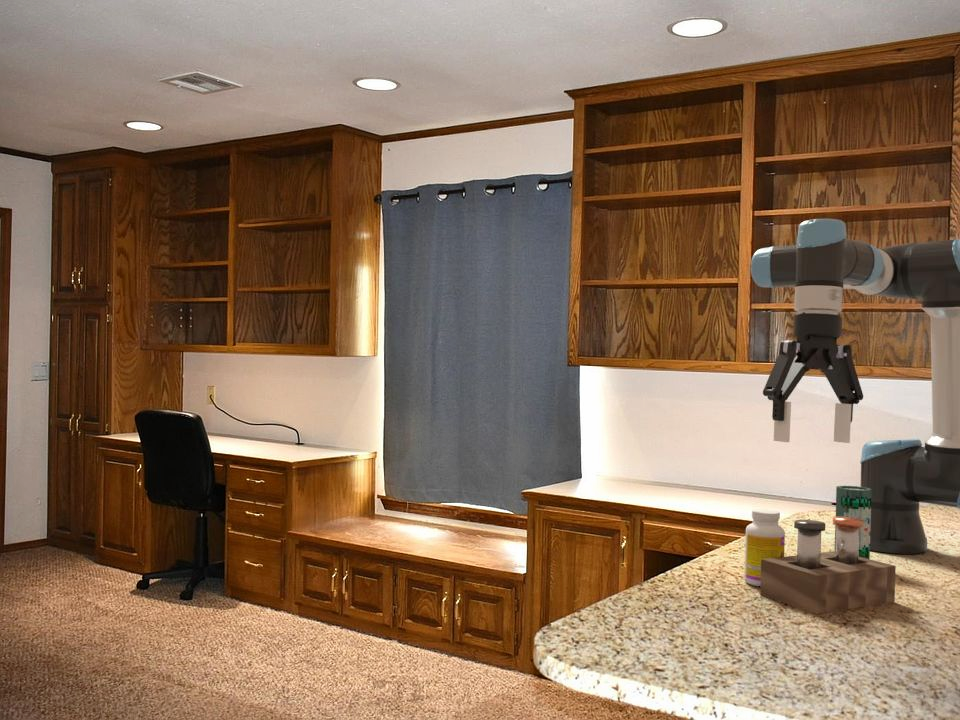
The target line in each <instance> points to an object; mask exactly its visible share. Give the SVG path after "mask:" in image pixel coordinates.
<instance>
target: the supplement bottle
mask: <svg viewBox="0 0 960 720" xmlns="http://www.w3.org/2000/svg"><path fill="white" fill-rule="evenodd" d="M780 513H781V512H780V511H778V510H775V509H768V508H754V509H752V510H751V517H752V523H750V524H748V525H747V526H746V528H745V541H744V542H745V543H744V545H745V546H744V547H745V549H744V572H743V573H744V577H743V578H744V581H745V583H747V584H749V585H751V586H754V587H759V586H760V587H759V588H761V559H768V558H777V557H785V545H786V544H785V543H786V542H785V541H786V540H785V539H786V533H785V532H786V531H785V530H784V528H783V527H782V526H781V525H780V524H779V521H780V518H781V517H780V516H781V515H780Z"/></svg>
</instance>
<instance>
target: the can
mask: <svg viewBox="0 0 960 720" xmlns="http://www.w3.org/2000/svg"><path fill="white" fill-rule="evenodd" d="M835 491H836V492H835V493H836V494H835V517H837V516H845V517H854V518H860V519H863V527H859V557H863V558H866V559H870V558H871V557H870V556H871V552H870V551H871V550H870V529H871V494H872V490H871V489H870V488H865V487H860V486H857V485H838V486H836V489H835ZM834 527H835V528H834V531H835V532H834V551H836V525H834ZM870 560H871V559H870Z"/></svg>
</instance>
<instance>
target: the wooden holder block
mask: <svg viewBox="0 0 960 720" xmlns="http://www.w3.org/2000/svg"><path fill="white" fill-rule="evenodd" d="M835 555H836V551H835V550H832V551H823V552H821V558H820V568H819V569H810V570H809V569H806V568H802V567H799V566H797V554H796V555H787V556H784V557H777V558H768V559H761V587H759V588H760V591H759V593H760V594H761V595H760V594H759V595H760V596H762V595H763V596H762V597H765V596H766V598H768V597H769V598H768V599H771V598H772V599H771V600H774V599H775V601H777V602H780V603H784V604H786V605H789V606H792V607H795V608H798V609H801V610H804V611H807V612H810V613H813V614H816V615H818V614H826V613H833V612H840V611H846V610H851V609H852V610H853V609H860V608H865V607H866V608H867V607H871V606H878V605H885V604H890V603H895V600H896V599H895V595H896V567H897V566H896V565H894V564H890V563H886V562H882V561H878V560H874V559H866V558H863V557H859V556H858V564H851V565H847V564H844V563H840V562H836V561H835Z"/></svg>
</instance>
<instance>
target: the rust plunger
mask: <svg viewBox="0 0 960 720" xmlns="http://www.w3.org/2000/svg"><path fill="white" fill-rule="evenodd" d="M832 525H833V526H835V525H836V555H835V561H836V562H840V563H844V564H847V565H851V564H858V556H859V527H863V519H860V518H854V517H845V516H837V517H836V516H833V517H832Z"/></svg>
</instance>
